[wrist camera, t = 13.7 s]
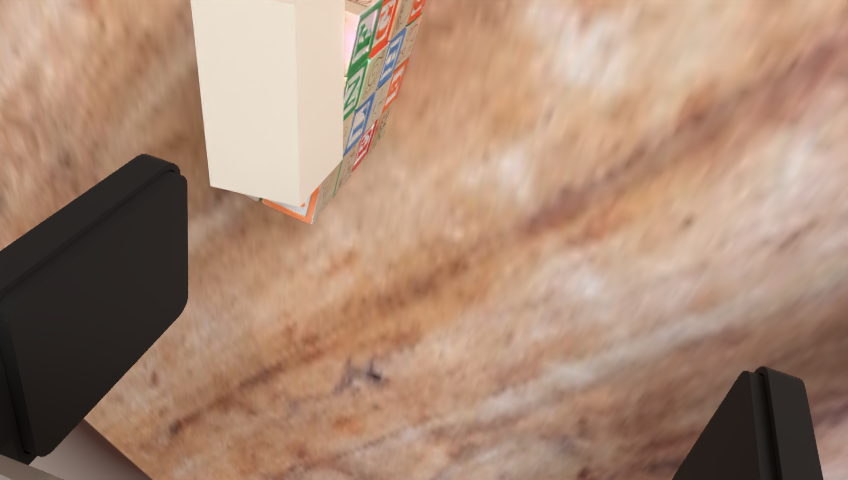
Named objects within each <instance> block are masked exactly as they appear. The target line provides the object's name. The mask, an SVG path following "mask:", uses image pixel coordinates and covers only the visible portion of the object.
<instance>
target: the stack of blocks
mask: <svg viewBox="0 0 848 480" xmlns="http://www.w3.org/2000/svg"><path fill="white" fill-rule="evenodd" d="M424 4H425V0H345V34H344V107H343V160H342V161H341V162H340V163H339V164H338V165H337V166H336V167H335V169H334V170H333V171H332V172H331V173H330V174H329V175H328V176H327V177H326V179H325V180H324V181H323V182H322V183H321V184H320V185H319V186H318V187H317V189H316V190H315V191H314V192H313V193H312V194H311V195H310V196H309V197H308V199H307V200H306V201H305V202H304V203H303V204H302V205H301V206H300V207H297V206H293V205H289V204H285V203H281V202H276V201H272V200H268V199H264V198H259V197H255V196H251V195H247V194H243V195H245V196H247V197H249V198H251V199H253V200H255V201H260V200H262V202H263V203H264V204H266V205H267V206H269V207H271V208H274V209H276V210H278V211H281V212H283V213H285V214H287V215H290V216H292V217H294V218H297V219H299V220H301V221H304V222H306V223H309V224H312V223H313V222H314V221H315V219H316V218H317V217H318V215H319V214H320V213H321V212H322V210H323V209H324V208H325V206H326V205H327V204H328V202H329V201H330V200H331V198H333V197H334V196H335V195H336V193H337V192H338V191H339V190H340V188H341V187H342V186H343V185H344V183H345V182H346V181H347V180H348V179H349V177H350V176H351V173H352V172H353V170H354V169H355V168H356V167H357V166H358V164H359V163H360V162H361V161H362V159H363V158H364V157H365V155H366V154H367V153H369V152H371V150H372V149H373V147H374V146H375V145H376V144H377V142H378V141H379V139H380V138H381V137H382V136H383V134H384V131H385V128H386V125H387V121H388V118H389V115H390V112H391V109H392V106H393V103H394V100H395V98H396V97H397V94H398V91H399V88H400V85H401V82H402V78H403V75H404V72H405V69H406V66H407V63H408V60H409V56H410V53H411V50H412V47H413V45H414V41H415V38H416V35H417V32H418V28H419V25H420V22H421V19H422V16H423V13H422V9H423V6H424ZM241 194H242V193H241Z"/></svg>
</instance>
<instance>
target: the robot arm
mask: <svg viewBox="0 0 848 480" xmlns="http://www.w3.org/2000/svg"><path fill="white" fill-rule="evenodd" d="M187 299H188V208H187V180H186V178H185V177H184V176H182V175H180V170H179V168H178V166H177V165H175V164H174V163H171V162H168V161H165V160H162V159H159V158H156V157H153V156H150V155H147V154H141V155H139V156H137V157H135V158H134V159H133V160H131V161H130V162H128V163H127V164H125V165H124V166H122V167H121V168H120V169H118V170H117V171H115V172H114V173H112V174H111V175H109V176H108V177H107V178H105V179H104V180H102V181H101V182H99V183H98V184H96V185H95V186H94V187H92V188H91V189H89V190H88V191H86V192H85V193H83V194H82V195H81V196H79V197H78V198H76V199H75V200H73V201H72V202H70V203H69V204H68V205H66V206H65V207H63V208H62V209H60V210H59V211H57V212H56V213H55V214H53V215H52V216H50V217H49V218H47V219H46V220H44V221H43V222H42V223H40V224H39V225H37V226H36V227H34V228H33V229H31V230H30V231H29V232H27V233H26V234H24V235H23V236H21V237H20V238H18V239H17V240H16V241H14V242H13V243H11V244H10V245H8V246H7V247H5V248H4V249H3V250H1V251H0V480H63V479H61V478H58V477H56V476H53V475H51V474H49V473H46V472H44V471H41V470H39V469H36V468H33V467H31V466H28V465H29V464H30V463H31V462H32V461H33V460H34V459H35V458H36V457H37V456H40V457H43V456H46V455H48V454H50V453H51V452H52V451H53V450H54V449H55V448H56V447H57V446H58V445H59V444H60V443H61V442H62V441H63V439H64V438H65V437H66V436H67V435H68V434H69V433H70V432H71V431H72V430H73V429H74V428H75V427H76V426H77V425H78V423H79V422H80V421H81V420H82V419H83V418H84V417H85V416H86V415H87V414H88V413H89V412H90V411H91V410H92V409H93V408H94V406H95V405H96V404H97V403H98V402H99V401H100V400H101V399H102V398H103V397H104V396H105V395H106V394H107V393H108V392H109V390H110V389H111V388H112V387H113V386H114V385H115V384H116V383H117V382H118V381H119V380H120V379H121V378H122V377H123V376H124V374H125V373H126V372H127V371H128V370H129V369H130V368H131V367H132V366H133V365H134V364H135V363H136V362H137V361H138V360H139V358H140V357H141V356H142V355H143V354H144V353H145V352H146V351H147V350H148V349H149V348H150V347H151V346H152V345H153V344H154V342H155V341H156V340H157V339H158V338H159V337H160V336H161V335H162V334H163V333H164V332H165V331H166V330H167V329H168V328H169V327H170V325H171V324H172V323H173V322H174V321H175V320H176V319H177V318H178V317H179V316H180V314H181V313H182V312H183V310H184V308H185V306H186V303H187ZM672 480H823V476H822V471H821V466H820V460H819V455H818V450H817V445H816V440H815V435H814V430H813V425H812V420H811V415H810V409H809V404H808V399H807V394H806V389H805V385H804V382H803V381H802V380H801V379H799V378H796V377H794V376H791V375H788V374H785V373H782V372H779V371H776V370H773V369H770V368H767V367H764V366H762V367H759V368H758V369H757V370H756V371H755V372H754V373H752V372H749V371H743V372H742V373H741V374H740V375H739V377H738V378H737V380H736V381H735V383H734V384H733V386H732V388H731V389H730V391H729V392H728V394H727V395H726V397H725V398H724V400H723V401H722V403H721V404H720V406H719V408H718V409H717V411H716V412H715V414H714V415H713V417H712V418H711V420H710V421H709V423H708V424H707V426H706V427H705V429H704V431H703V432H702V434H701V435H700V437H699V438H698V440H697V441H696V443H695V444H694V446H693V447H692V449H691V451H690V452H689V454H688V455H687V457H686V458H685V460H684V461H683V463H682V464H681V466H680V467H679V469H678V471H677V472H676V474H675V475H674V477H673V479H672Z"/></svg>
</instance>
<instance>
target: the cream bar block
mask: <svg viewBox="0 0 848 480" xmlns="http://www.w3.org/2000/svg"><path fill="white" fill-rule="evenodd" d="M191 8H192V17H193V27H194V36H195V46H196V55H197V64H198V74H199V83H200V93H201V102H202V112H203V121H204V130H205V140H206V149H207V159H208V168H209V177H210V186H213V187H217V188H221V189H225V190H230V191H234V192H238V193H242V194H247V195H251V196H255V197H259V198H264V199H268V200H272V201H276V202H281V203H285V204H289V205H293V206H297V207H300V206H301V205H302V204H303V203H304V202H305V201H306V200H307V199H308V197H309V196H310V195H311V194H312V193H313V192H314V191H315V190H316V189H317V187H318V186H319V185H320V184H321V183H322V182H323V181H324V180H325V179H326V177H327V176H328V175H329V174H330V173H331V172H332V171H333V170H334V169H335V167H336V166H337V165H338V164H339V163H340V162H341V161H342V160H343V107H344V34H345V0H191Z"/></svg>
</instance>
